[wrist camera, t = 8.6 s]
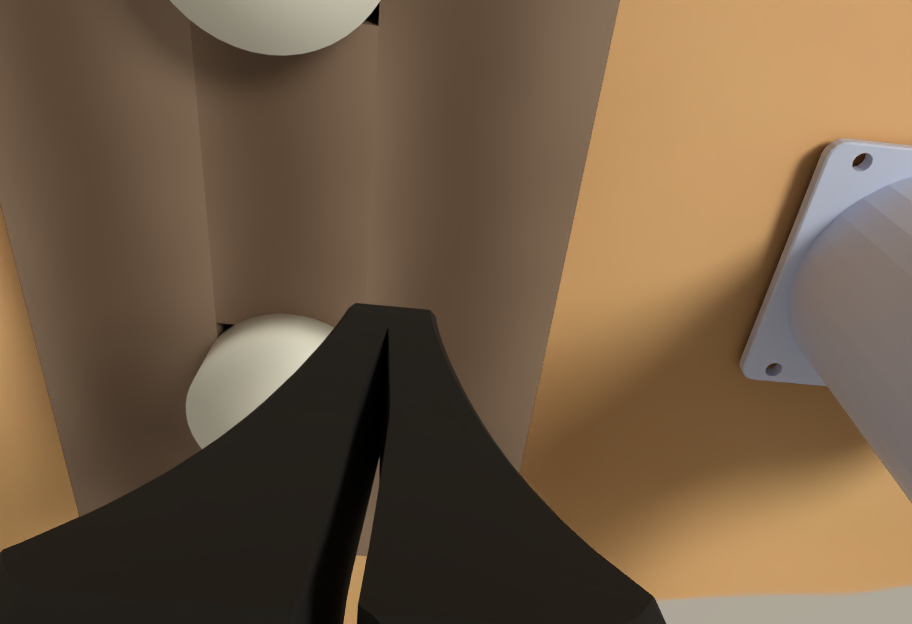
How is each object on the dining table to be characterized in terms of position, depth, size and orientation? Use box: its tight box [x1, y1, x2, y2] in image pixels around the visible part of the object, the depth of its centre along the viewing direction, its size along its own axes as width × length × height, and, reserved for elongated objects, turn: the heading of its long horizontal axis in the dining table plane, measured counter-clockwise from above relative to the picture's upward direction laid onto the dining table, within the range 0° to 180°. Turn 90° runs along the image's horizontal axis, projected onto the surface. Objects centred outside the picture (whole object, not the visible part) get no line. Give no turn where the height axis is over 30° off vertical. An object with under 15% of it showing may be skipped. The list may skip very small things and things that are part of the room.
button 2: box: [186, 314, 334, 449], centre depth 21 cm, size 5×5×4 cm
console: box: [0, 0, 620, 556], centre depth 18 cm, size 14×26×3 cm, turn 174°
